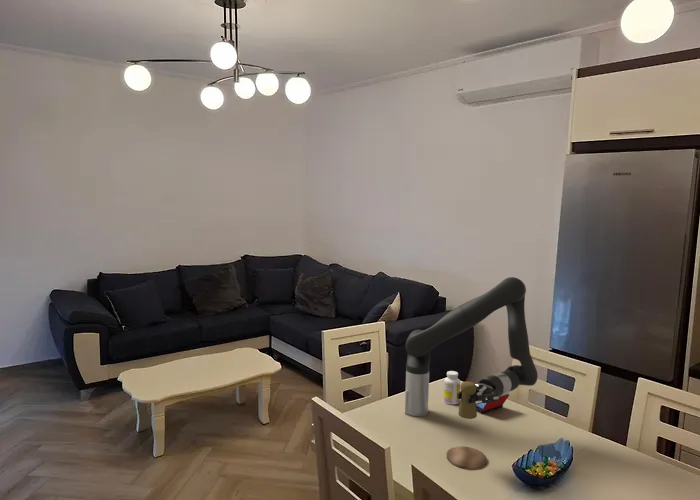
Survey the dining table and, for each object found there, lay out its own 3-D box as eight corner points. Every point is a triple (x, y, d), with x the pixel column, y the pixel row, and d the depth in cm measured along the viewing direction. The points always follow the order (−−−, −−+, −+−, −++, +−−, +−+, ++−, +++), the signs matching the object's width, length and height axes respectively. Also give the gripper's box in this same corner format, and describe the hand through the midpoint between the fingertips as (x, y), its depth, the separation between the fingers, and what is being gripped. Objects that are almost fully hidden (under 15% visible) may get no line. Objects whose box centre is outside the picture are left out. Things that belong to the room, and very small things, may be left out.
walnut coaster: (448, 467, 159) (448, 465, 159) (445, 447, 172) (445, 445, 172) (489, 470, 158) (489, 468, 158) (483, 450, 171) (483, 447, 171)
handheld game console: (489, 401, 212) (490, 385, 211) (509, 411, 203) (510, 393, 202) (468, 408, 205) (468, 390, 204) (487, 418, 196) (488, 400, 195)
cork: (477, 419, 160) (478, 387, 159) (458, 417, 161) (459, 385, 160) (476, 411, 166) (477, 380, 165) (458, 410, 167) (459, 378, 166)
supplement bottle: (457, 398, 214) (458, 369, 213) (461, 405, 207) (462, 375, 206) (441, 398, 214) (442, 370, 212) (445, 405, 207) (446, 375, 206)
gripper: (478, 369, 176) (446, 380, 166) (513, 381, 165) (481, 394, 155) (478, 389, 177) (446, 402, 167) (512, 403, 166) (480, 417, 156)
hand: (463, 398), depth 161 cm, fingers closed on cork, 3 cm apart
